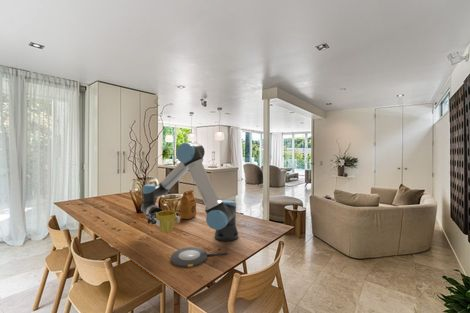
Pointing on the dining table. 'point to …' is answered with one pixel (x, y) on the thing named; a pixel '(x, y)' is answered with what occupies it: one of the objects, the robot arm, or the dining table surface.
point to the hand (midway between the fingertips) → (169, 221)
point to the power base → (191, 256)
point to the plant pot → (166, 220)
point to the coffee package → (188, 205)
